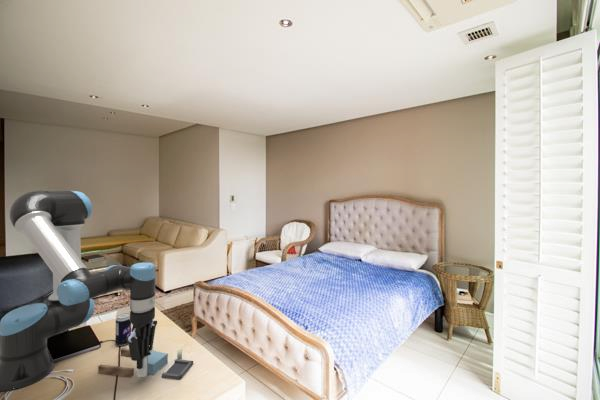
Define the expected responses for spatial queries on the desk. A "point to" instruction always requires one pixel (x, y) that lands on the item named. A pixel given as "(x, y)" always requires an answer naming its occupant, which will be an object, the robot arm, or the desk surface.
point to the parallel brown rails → (118, 370)
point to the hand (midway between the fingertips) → (142, 375)
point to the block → (156, 361)
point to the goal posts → (179, 353)
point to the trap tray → (178, 369)
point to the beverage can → (122, 329)
